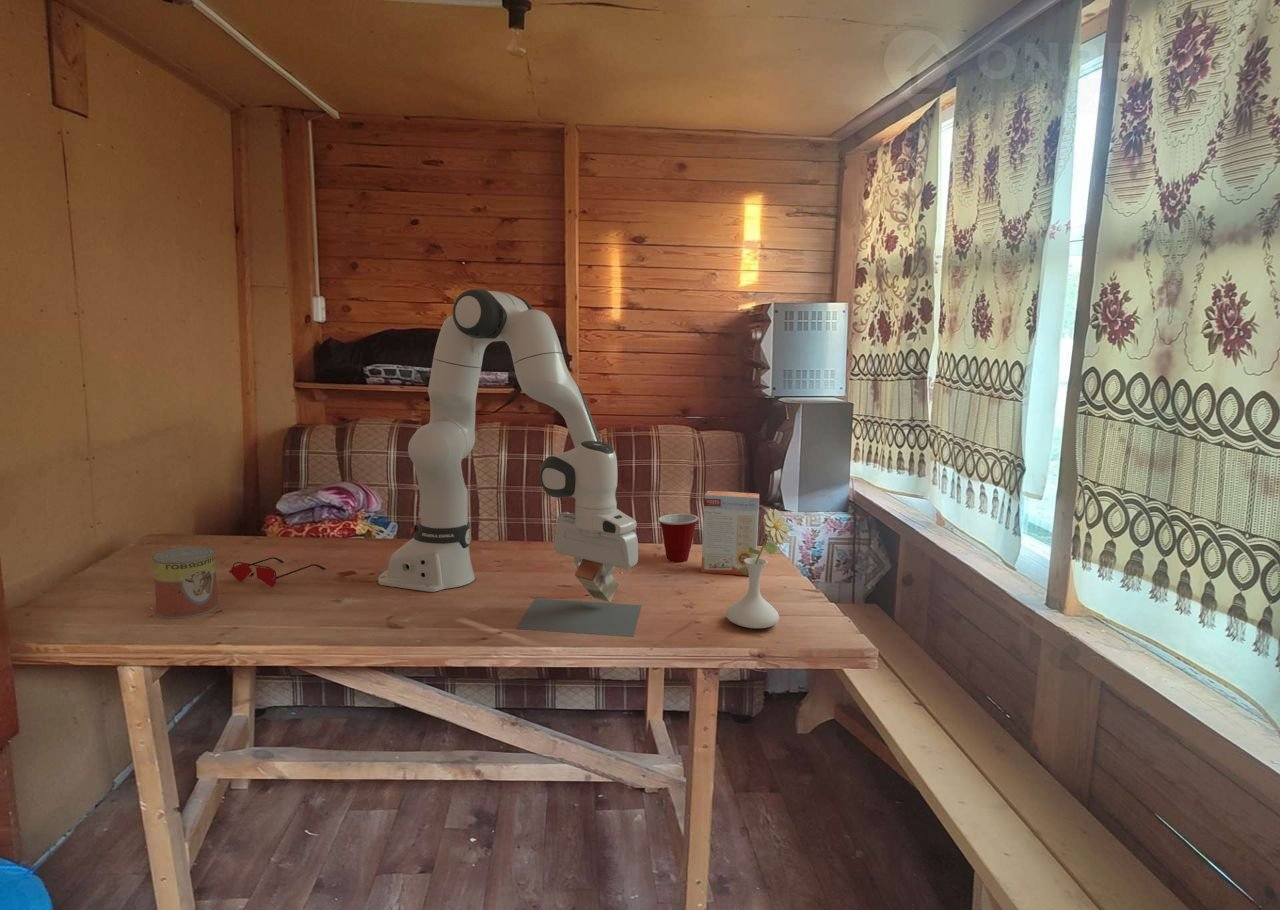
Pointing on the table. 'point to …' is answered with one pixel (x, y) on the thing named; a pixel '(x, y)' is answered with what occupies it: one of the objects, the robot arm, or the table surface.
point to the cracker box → (729, 531)
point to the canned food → (185, 582)
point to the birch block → (596, 580)
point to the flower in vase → (752, 605)
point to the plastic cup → (678, 535)
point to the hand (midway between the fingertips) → (594, 580)
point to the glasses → (261, 571)
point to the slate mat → (581, 617)
